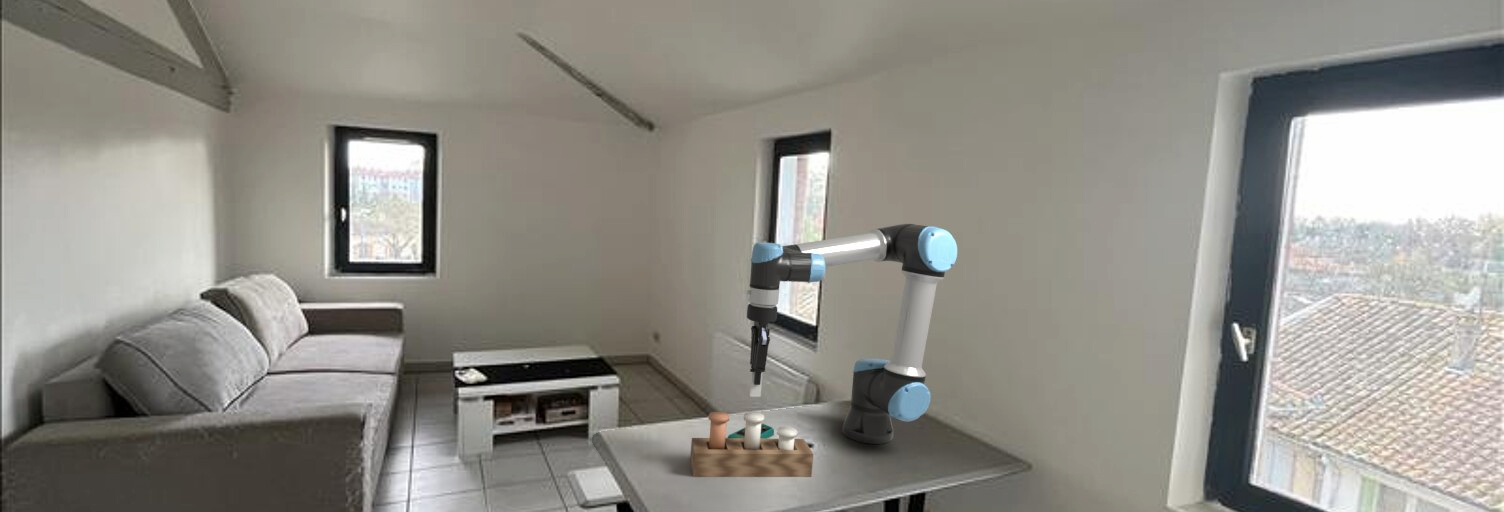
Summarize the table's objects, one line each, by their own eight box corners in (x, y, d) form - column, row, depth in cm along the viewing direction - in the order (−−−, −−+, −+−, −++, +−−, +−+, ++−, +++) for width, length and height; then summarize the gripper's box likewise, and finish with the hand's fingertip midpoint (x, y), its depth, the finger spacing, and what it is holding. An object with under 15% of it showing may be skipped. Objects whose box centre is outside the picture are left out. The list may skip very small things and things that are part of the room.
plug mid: (759, 445, 177) (762, 412, 176) (763, 453, 172) (766, 419, 171) (739, 445, 176) (742, 411, 175) (743, 453, 171) (745, 419, 170)
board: (801, 460, 182) (803, 438, 181) (811, 476, 172) (813, 454, 171) (690, 459, 176) (691, 437, 176) (693, 476, 167) (694, 453, 166)
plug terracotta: (725, 445, 175) (727, 411, 174) (728, 453, 170) (730, 418, 169) (705, 445, 174) (707, 411, 173) (707, 453, 169) (709, 418, 168)
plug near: (792, 459, 179) (794, 426, 178) (796, 468, 174) (799, 434, 173) (772, 459, 178) (775, 426, 177) (776, 468, 173) (779, 434, 172)
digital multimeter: (775, 436, 199) (775, 426, 199) (748, 451, 186) (749, 440, 186) (753, 429, 203) (754, 420, 203) (726, 444, 190) (727, 434, 190)
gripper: (743, 299, 175) (736, 387, 178) (752, 308, 163) (744, 403, 165) (772, 300, 177) (764, 388, 179) (782, 310, 164) (774, 404, 166)
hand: (754, 395), depth 172 cm, fingers closed
